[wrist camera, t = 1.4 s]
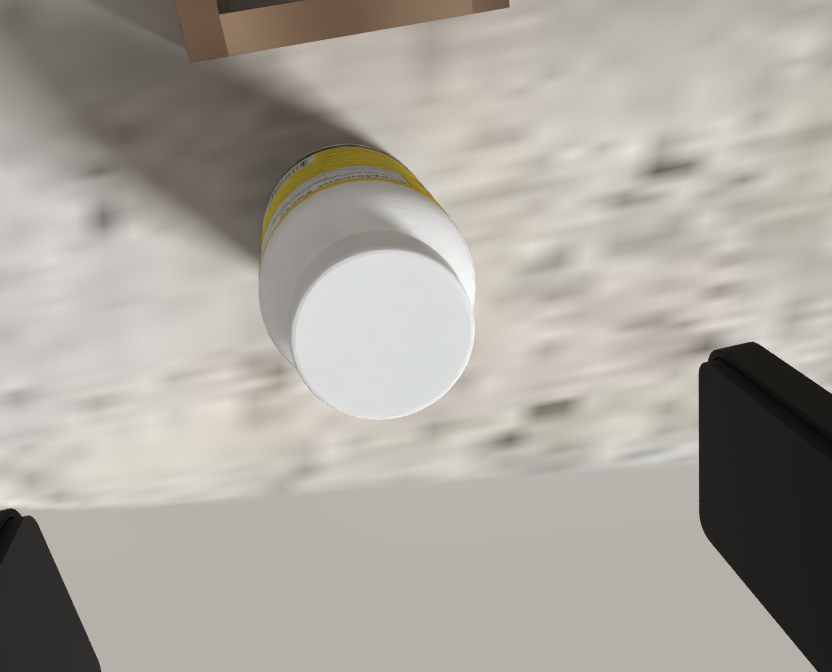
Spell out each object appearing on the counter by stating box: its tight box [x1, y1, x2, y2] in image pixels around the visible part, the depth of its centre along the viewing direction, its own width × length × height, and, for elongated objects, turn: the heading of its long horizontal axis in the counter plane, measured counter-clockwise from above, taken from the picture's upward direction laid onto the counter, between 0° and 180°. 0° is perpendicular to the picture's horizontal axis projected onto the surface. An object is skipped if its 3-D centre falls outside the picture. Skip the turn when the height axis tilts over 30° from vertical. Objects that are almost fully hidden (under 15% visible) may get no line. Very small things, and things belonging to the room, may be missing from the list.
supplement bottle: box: [259, 144, 475, 419], centre depth 21 cm, size 5×5×10 cm
